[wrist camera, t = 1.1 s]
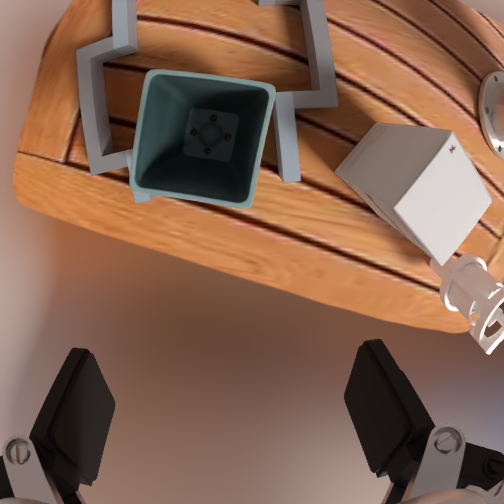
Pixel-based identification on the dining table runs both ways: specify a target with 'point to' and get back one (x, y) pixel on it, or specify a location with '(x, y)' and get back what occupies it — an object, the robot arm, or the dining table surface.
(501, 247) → the dining table surface
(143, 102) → the flower pot
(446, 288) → the white plastic fitting
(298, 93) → the stepped grey frame
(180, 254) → the dining table surface
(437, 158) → the supplement box
